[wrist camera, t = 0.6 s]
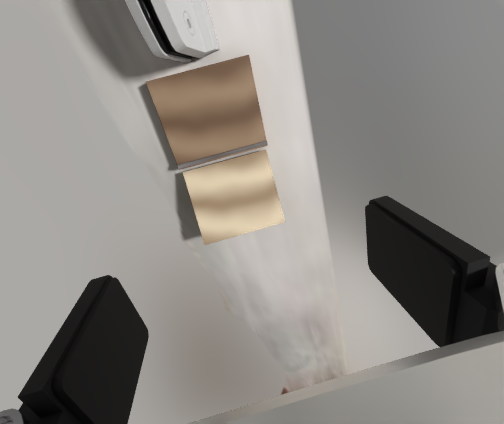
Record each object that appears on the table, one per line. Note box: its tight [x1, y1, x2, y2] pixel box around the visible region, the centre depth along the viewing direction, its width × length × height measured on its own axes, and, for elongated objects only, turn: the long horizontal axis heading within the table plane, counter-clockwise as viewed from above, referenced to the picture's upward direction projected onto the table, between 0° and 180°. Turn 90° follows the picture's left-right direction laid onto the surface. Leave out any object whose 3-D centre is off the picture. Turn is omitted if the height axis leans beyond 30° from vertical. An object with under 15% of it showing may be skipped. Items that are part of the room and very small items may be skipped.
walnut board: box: [146, 55, 268, 170], centre depth 36 cm, size 12×13×2 cm
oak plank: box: [183, 150, 285, 245], centre depth 40 cm, size 11×12×2 cm
